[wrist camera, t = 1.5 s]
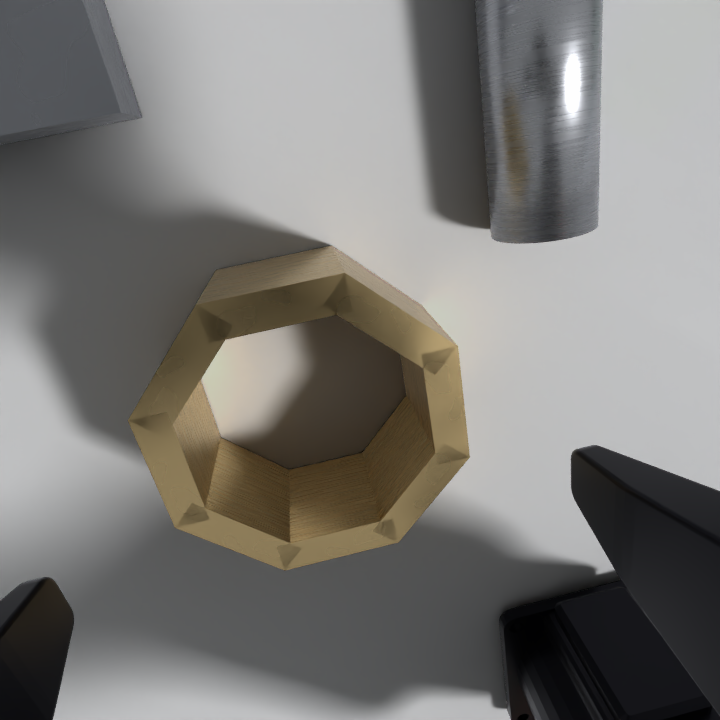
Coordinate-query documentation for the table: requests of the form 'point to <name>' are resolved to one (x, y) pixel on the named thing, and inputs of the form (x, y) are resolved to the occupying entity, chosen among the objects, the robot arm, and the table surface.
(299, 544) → the collar ring
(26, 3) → the square base plate
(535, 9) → the steel pin
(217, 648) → the table surface
